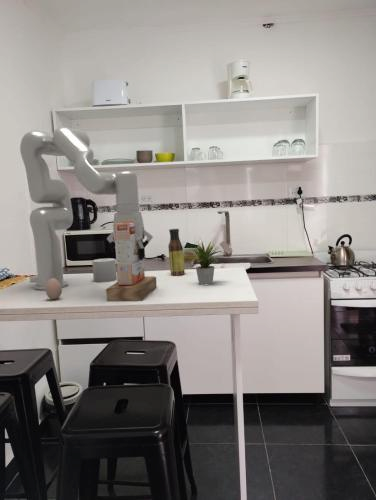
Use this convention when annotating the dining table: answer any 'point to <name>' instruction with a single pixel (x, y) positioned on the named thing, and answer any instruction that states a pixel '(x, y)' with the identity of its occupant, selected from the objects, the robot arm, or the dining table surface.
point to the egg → (53, 289)
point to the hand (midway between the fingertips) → (131, 259)
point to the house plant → (205, 264)
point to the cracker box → (127, 255)
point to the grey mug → (104, 270)
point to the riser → (132, 290)
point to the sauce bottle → (176, 253)
